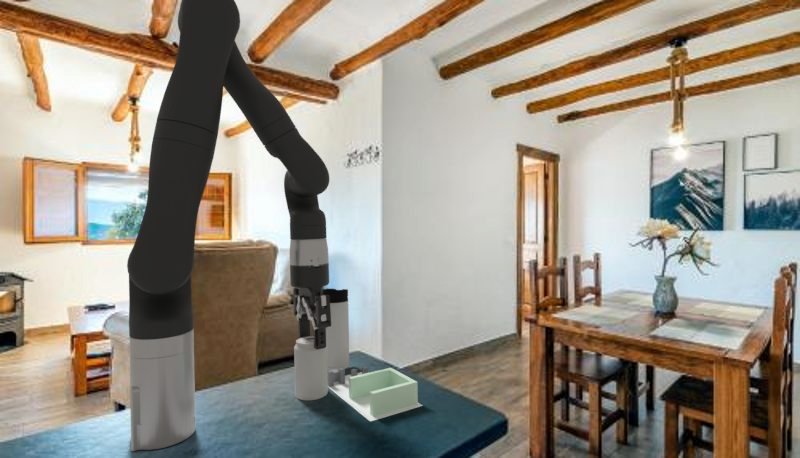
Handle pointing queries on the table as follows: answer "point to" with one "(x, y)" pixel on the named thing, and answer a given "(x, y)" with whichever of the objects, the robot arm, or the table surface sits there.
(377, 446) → the table surface
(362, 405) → the board
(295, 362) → the beverage can
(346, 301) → the travel mug
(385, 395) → the end holder
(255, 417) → the table surface
